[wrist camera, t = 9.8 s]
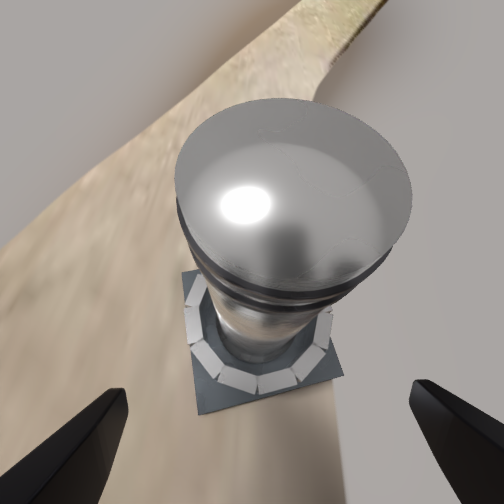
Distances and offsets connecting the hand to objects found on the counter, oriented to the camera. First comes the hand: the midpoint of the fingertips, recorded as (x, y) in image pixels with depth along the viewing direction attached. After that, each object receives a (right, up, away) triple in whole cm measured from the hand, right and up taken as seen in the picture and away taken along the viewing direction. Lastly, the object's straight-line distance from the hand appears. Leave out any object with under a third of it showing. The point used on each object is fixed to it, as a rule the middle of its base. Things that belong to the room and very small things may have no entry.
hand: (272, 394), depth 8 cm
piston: (0, 0, +8) cm, 8 cm away
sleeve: (0, 0, +9) cm, 9 cm away
